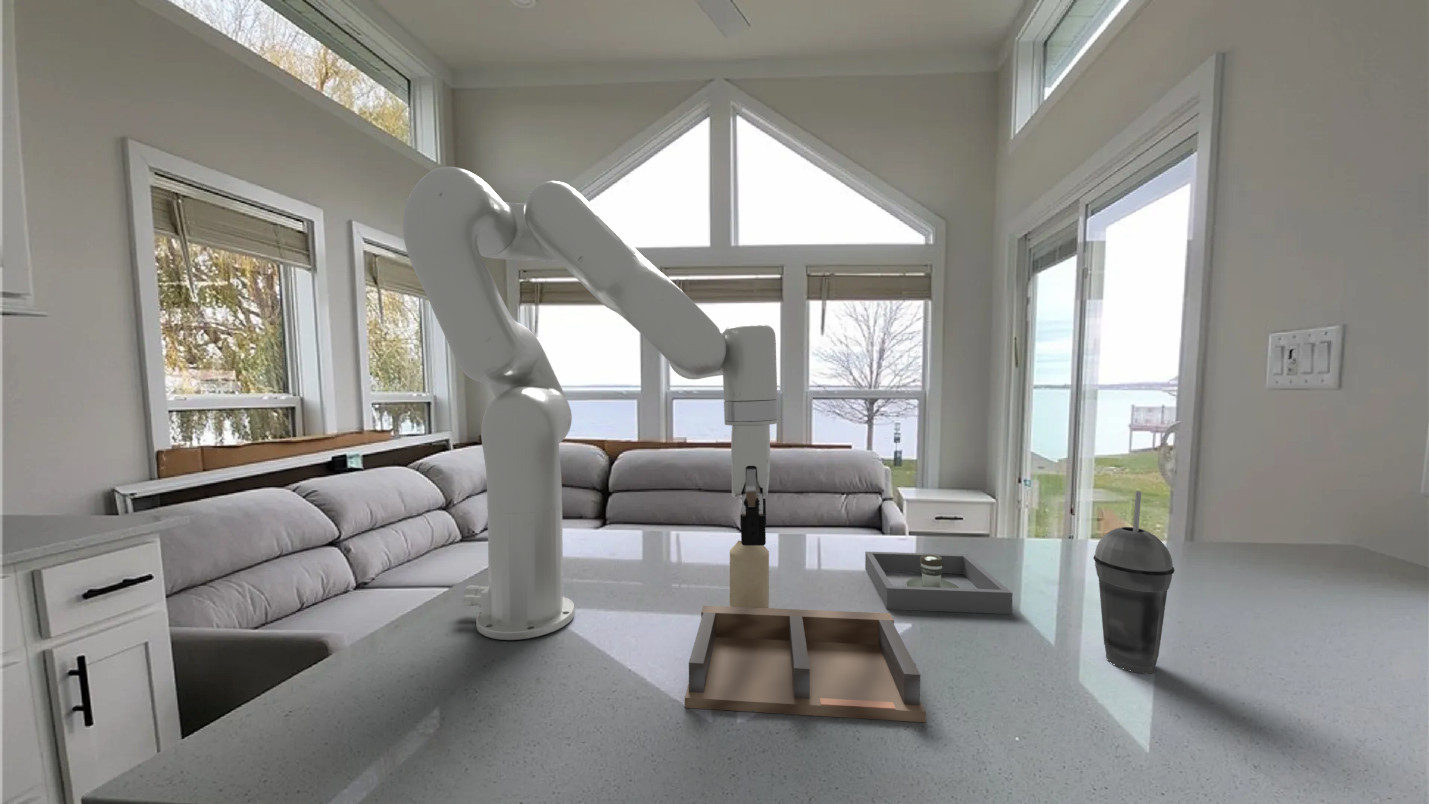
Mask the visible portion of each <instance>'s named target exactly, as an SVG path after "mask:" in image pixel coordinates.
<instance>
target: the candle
mask: <svg viewBox="0 0 1429 804" xmlns="http://www.w3.org/2000/svg"><path fill="white" fill-rule="evenodd" d="M769 577H770V551H769V549H768V548H767V547H766V546H765V545H763V546H744V545H742V543H741V540H739V539H738V540H737V541H736V543H735V544H734V545H733V546H732V547H731V548H730V549H729V607H749V608H769V607H770V605H769V604H770V603H769V602H770V601H769V600H770V596H769V595H770V584H769V583H770V580H769V579H770V578H769Z"/></svg>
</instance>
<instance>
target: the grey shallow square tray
mask: <svg viewBox="0 0 1429 804" xmlns="http://www.w3.org/2000/svg"><path fill="white" fill-rule="evenodd" d="M923 554H933V555H937V556H940V557H941V558H942V560H943V564H944V566H942V574H958V575H959V574H960V575H961V574H963V576H965V578H967V579H968V581H970V582H971V583H972V584H973V585H974V586H975V587H976V588H966V587H965V588H964V587H963V588H962V587H959V588H938V587H911V586H907V585H905V586H903V585H893V584H892V583H891V581H890V580H889V578H888V577H887V574H886V572H896V573H897V572H898V573H901V572H903V573H922V572H921V563H920V557H921V555H923ZM864 558H865V560H864V561H865V563H864V565H865V568H864V569H865V571H866V573H867V575H868V576H869V579H870V581H871V582H872V584H873V586H874V588H875V590H876V592H877V593H878V596H879V597H880V599H881V601H882V602H883V605H884V606H885V608H886V610H902V611H903V610H905V611H927V612H928V611H930V612H947V613H948V612H949V613H950V612H951V613H952V612H953V613H978V614H999V615H1000V614H1001V615H1002V614H1003V615H1005V614H1006V615H1013V592H1012V591H1011V590H1010V589H1008V588H1007V586H1005V585H1004V584H1002V582H1000V581H999V579H996V577H995V576H993V575H992V574H990V572H988V571H987V569H985V568H983V566H981V565H980V564H979V563H978V562H977V561H976V560H974V559H973V558H972V557H971V556H969V555H968V554H961V553H960V554H959V553H958V554H957V553H954V554H953V553H933V552H932V553H927V552H926V553H922V552H897V551H896V552H895V551H894V552H892V551H891V552H890V551H865V557H864Z"/></svg>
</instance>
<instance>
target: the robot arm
mask: <svg viewBox="0 0 1429 804" xmlns="http://www.w3.org/2000/svg"><path fill="white" fill-rule="evenodd" d="M402 216H403V217H402V234H403V242H404V245H405V249H406V252H407V256H408V259H409V260H410V263H411V266H412V268H413V270H414V272H415V275H416V277H417V278H418V281H419V283H420V285H421V287H422V290H423V291H424V293H425V295H426V297H427V300H428V302H429V305H430V306H431V309H432V311H433V313H434V316H435V318H436V321H437V322H438V324H439V326H440V328H441V331H442V332H443V334H444V338H445V340H446V341H447V344H448V345H449V347H450V351H451V352H452V354H453V356H454V359H455V361H456V363H457V366H458V367H459V368H460V370H461V371H462V372H463V373H464V374H465V376H466V377H468V378H470V379H471V380H473V381H475V382H478V383H480V384H488V385H489V387H490V389H491V391H492V394H493V395H494V398H493V399H492V401H491V402H490V403H489V404H488V405H487V407H486V409H485V412H484V414H483V417H482V421H481V426H480V429H481V430H480V435H481V437H480V438H481V445H482V452H483V459H484V467H485V472H486V473H485V475H486V502H487V503H486V506H487V551H488V552H487V556H488V557H487V558H488V559H487V560H488V561H487V562H488V563H487V564H488V566H487V567H488V585H487V586H481V585H473V584H472V585H471V584H470V585H467V586H466V587H465V588H464V591H463V598H462V605H463V606H465V607H466V606H467V607H469V606H470V607H471V606H472V607H473V606H478V607H479V608H480V612H479V613H478V615H477V616H476V623H475V625H476V626H475V627H476V630H477V631H478V632H479V633H480V634H481V635H483V636H484V637H487V638H491V639H495V640H502V641H505V640H506V641H515V640H519V641H520V640H527V639H533V638H538V637H541V636H544V635H549V634H551V633H554V632H556V631H559V630H560V629H561V628H564V627H565V626H566V625H568V624H569V623H570V622H571V621H573V619H574V617H575V614H576V613H575V611H576V610H575V609H576V608H575V603H574V602H573V601H572V599H569V598H568V597H566V596H564V569H563V568H564V564H563V563H564V561H563V560H564V559H563V557H564V556H563V555H564V554H563V553H564V552H563V551H564V550H563V545H564V543H563V487H562V486H563V484H562V483H563V482H562V480H563V479H562V468H561V465H562V464H561V456H560V455H561V454H560V443H561V442H562V441H564V439H565V438H566V437H567V436H568V434H569V432H570V429H571V427H572V420H573V415H572V410H571V406H570V404H569V401H568V399H567V397H566V395H565V393H564V390H563V388H562V386H561V383H560V382H559V380H558V378H557V375H556V373H555V371H554V369H553V366H552V365H551V362H550V361H549V358H548V356H547V354H546V352H545V350H544V349H543V346H542V344H541V343H540V341H539V339H538V338H537V336H536V335H535V334H534V333H533V332H532V331H531V330H530V329H529V328H528V327H527V326H525V325H524V324H522V323H519V322H517V320H516V319H514V317H513V316H512V315H511V313H510V311H509V309H508V308H507V306H506V303H505V301H504V300H503V298H502V296H501V293H500V291H499V290H498V287H497V285H496V281H495V279H494V277H493V276H492V274H491V272H490V269H488V266H486V265H487V264H485V262H484V260H483V257H484V258H488V259H496V260H509V261H510V260H512V261H528V262H530V261H531V262H545V263H546V262H550V263H551V262H555V263H560V264H561V265H562V266H563V267H564V268H566V270H567V271H568V272H569V273H570V274H571V275H572V276H573V277H574V278H576V280H577V281H578V282H579V283H580V284H582V285H583V287H585V289H586V290H588V292H590V294H591V295H593V296H594V297H595V299H597V300H598V301H599V302H600V303H601V304H602V305H603V306H604V307H606V308H608V309H609V310H611V311H613V312H615V313H616V314H617V315H619V316H620V317H622V318H623V319H624V320H625V321H627V322H628V323H629V324H630V325H631V326H632V327H633V328H634V329H635V330H636V331H638V332H639V334H640V335H641V336H642V337H644V339H646V341H648V342H649V343H650V344H651V345H652V346H653V347H654V348H655V349H656V350H657V351H658V352H659V353H660V354H661V355H662V356H663V357H664V358H665V359H666V360H667V361H668V363H669V366H670V367H671V369H672V370H673V371H674V372H675V374H677V375H679V376H680V377H681V378H684V379H688V380H701V379H707V378H711V377H719V376H722V379H723V380H722V383H723V384H722V386H723V411H724V412H723V416H724V417H723V418H724V426H731V441H730V442H731V443H730V445H731V446H730V447H731V450H730V451H731V452H730V453H731V454H730V455H731V458H730V459H731V496H732V497H733V499H737V498H738V496H741V514H740V536H741V537H740V539H741V540H740V541H741V543H742V545H744V546H763V545H764V546H765V545H766V543H767V538H766V537H767V536H766V535H767V534H766V524H767V513H766V511H767V508H766V497H767V496H768V493H769V487H770V486H769V485H770V472H771V435H770V434H771V430H770V427H771V425H776V424H779V410H778V409H779V408H778V407H779V406H778V380H777V379H778V377H777V375H778V374H777V373H778V372H777V369H778V368H777V341H776V340H777V339H776V333H775V330H774V329H773V327H771V326H770V325H767V324H763V323H741V324H736V325H731V326H728V327H727V328H725V329H719V327H718V326H717V325H716V324H715V322H714V321H713V320H712V319H711V318H710V317H709V316H708V315H707V314H706V313H705V312H704V311H703V310H702V309H701V308H700V307H699V306H698V305H697V304H696V303H695V302H694V301H693V300H692V299H691V298H690V297H689V296H688V295H687V294H686V293H685V292H684V291H683V290H682V289H681V288H679V287H678V285H677V284H675V283H674V282H673V281H672V280H671V279H669V278H668V277H667V276H666V275H665V274H664V273H663V272H661V270H659V269H658V268H657V267H656V266H655V265H654V264H653V263H652V262H651V261H650V260H648V259H647V258H646V257H644V255H642V254H641V253H640V252H639V251H638V250H637V249H636V248H635V246H633V245H632V244H631V243H630V242H629V241H628V240H627V239H626V238H625V237H624V236H623V235H622V234H621V233H620V232H619V231H618V230H617V229H616V228H615V227H614V226H613V225H612V224H611V223H610V222H609V221H608V220H607V219H606V218H605V217H604V216H603V215H602V214H601V213H600V212H599V211H598V210H597V208H595V207H594V206H593V205H592V204H591V203H590V202H589V201H588V200H587V198H585V197H584V196H583V195H582V194H581V193H580V192H579V191H577V190H576V189H575V188H574V187H572V186H570V185H569V184H568V183H565V182H563V181H556V180H548V181H544V182H542V183H539V184H537V185H536V186H534V187H533V189H532V190H531V191H530V192H529V193H528V194H527V196H526V199H525V201H524V203H520V202H519V203H518V202H507V201H503V199H502V198H501V197H500V196H499V194H497V193H496V192H495V190H494V189H493V188H492V187H491V186H490V185H489V184H488V183H487V182H486V181H484V179H482V178H481V177H479V176H478V175H477V174H475V173H473V172H471V171H469V170H466V169H464V168H461V167H456V166H442V167H441V166H440V167H438V168H435V169H433V170H430V171H429V172H427V173H426V174H425V175H424V176H422V178H420V179H419V181H418V182H417V183H416V184H415V185H414V187H413V188H412V190H411V192H410V194H409V196H408V198H407V200H406V204H405V207H404V210H403V215H402Z"/></svg>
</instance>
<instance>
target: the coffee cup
mask: <svg viewBox="0 0 1429 804" xmlns="http://www.w3.org/2000/svg"><path fill="white" fill-rule="evenodd" d="M933 554H934V553H932V554H923V555H921V557H920V563H921V572H920V573H921V577H914V578H911V579H908V580H907V581H906V586H911V587H938V588H960V587H959V586H958V585H957V584H954V583H953V582H950V581H948V580H944V579H941V578H942V574H943V573H942V566H944V564H943V560H942V558H941V557H940V556H937V555H933Z"/></svg>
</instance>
